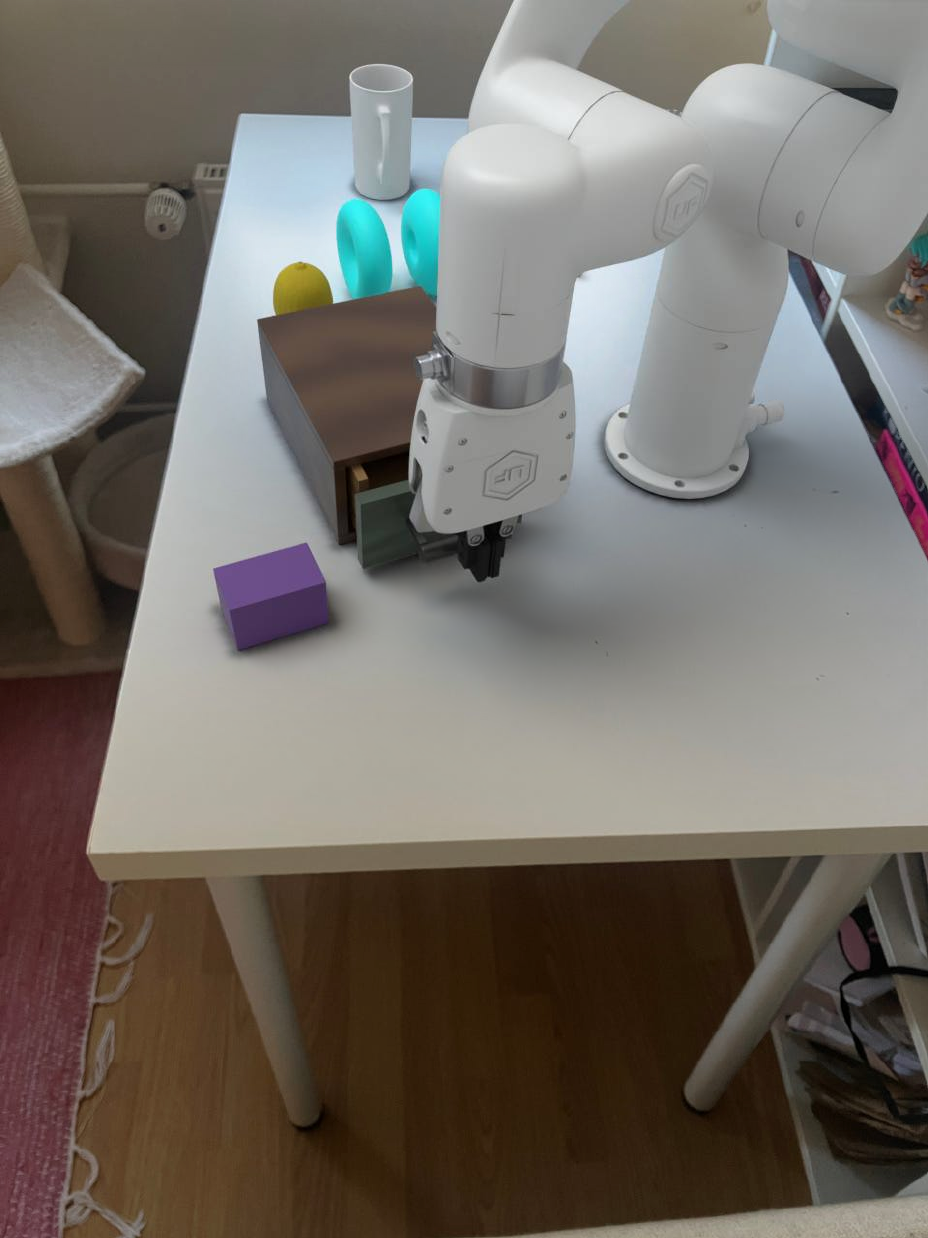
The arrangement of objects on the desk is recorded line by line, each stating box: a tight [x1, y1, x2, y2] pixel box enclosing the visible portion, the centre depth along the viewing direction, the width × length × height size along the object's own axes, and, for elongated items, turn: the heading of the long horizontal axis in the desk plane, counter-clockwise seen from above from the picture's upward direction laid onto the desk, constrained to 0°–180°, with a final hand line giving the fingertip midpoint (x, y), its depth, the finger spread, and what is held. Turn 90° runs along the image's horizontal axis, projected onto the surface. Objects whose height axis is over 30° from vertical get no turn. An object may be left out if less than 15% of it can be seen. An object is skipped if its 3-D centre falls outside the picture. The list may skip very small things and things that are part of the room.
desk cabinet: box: [256, 285, 437, 545], centre depth 84 cm, size 19×15×9 cm
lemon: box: [272, 261, 334, 315], centre depth 93 cm, size 6×6×8 cm
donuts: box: [335, 188, 440, 299], centre depth 98 cm, size 10×10×10 cm
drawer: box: [345, 451, 523, 570], centre depth 80 cm, size 22×14×7 cm, turn 24°
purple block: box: [212, 542, 330, 651], centre depth 73 cm, size 7×4×5 cm, turn 114°
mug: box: [348, 63, 414, 201], centre depth 110 cm, size 10×7×12 cm, turn 7°
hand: (479, 566), depth 73 cm, fingers closed
